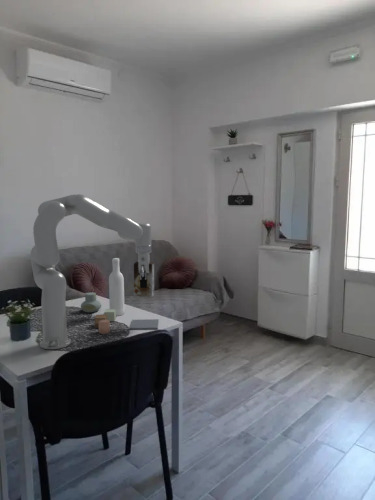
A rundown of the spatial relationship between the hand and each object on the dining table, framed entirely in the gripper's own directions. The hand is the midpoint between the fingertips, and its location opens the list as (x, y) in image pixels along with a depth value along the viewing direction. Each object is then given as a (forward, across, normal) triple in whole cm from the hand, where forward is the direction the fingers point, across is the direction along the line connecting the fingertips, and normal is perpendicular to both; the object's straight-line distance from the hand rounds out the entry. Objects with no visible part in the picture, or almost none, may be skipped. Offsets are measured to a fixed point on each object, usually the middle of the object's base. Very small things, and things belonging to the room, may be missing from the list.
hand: (144, 285), depth 187 cm
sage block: (+20, +9, +18) cm, 28 cm away
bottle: (+20, +20, +16) cm, 32 cm away
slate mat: (+20, 0, 0) cm, 20 cm away
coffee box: (+5, 0, 0) cm, 5 cm away
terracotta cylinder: (+20, -9, +18) cm, 28 cm away
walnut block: (+20, 0, +21) cm, 29 cm away
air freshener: (+20, +26, +31) cm, 45 cm away
